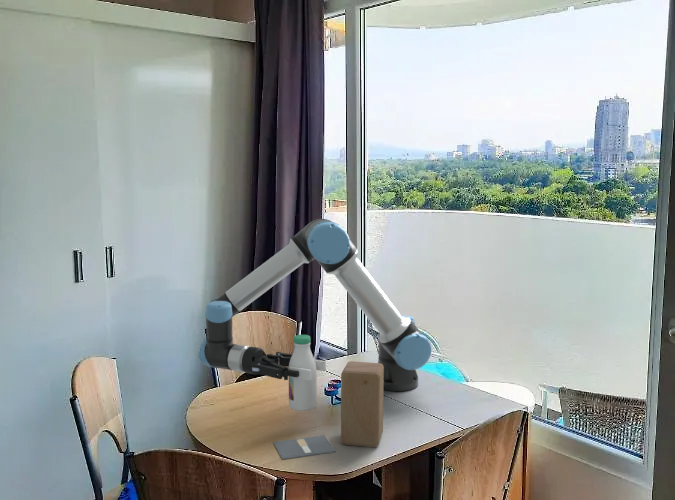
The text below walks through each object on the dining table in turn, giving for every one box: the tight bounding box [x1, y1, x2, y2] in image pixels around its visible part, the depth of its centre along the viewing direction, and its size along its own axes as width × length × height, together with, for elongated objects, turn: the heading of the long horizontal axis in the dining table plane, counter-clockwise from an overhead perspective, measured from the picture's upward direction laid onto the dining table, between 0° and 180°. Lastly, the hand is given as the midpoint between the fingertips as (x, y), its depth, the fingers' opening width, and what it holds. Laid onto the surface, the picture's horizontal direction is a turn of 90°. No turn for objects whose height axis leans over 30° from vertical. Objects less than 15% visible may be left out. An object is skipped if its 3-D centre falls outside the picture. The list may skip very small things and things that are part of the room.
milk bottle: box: [288, 334, 318, 412], centre depth 174 cm, size 8×8×20 cm
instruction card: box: [272, 434, 337, 461], centre depth 164 cm, size 14×10×1 cm
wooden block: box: [340, 360, 384, 448], centre depth 168 cm, size 10×10×20 cm
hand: (318, 370), depth 172 cm, fingers closed on milk bottle, 8 cm apart
